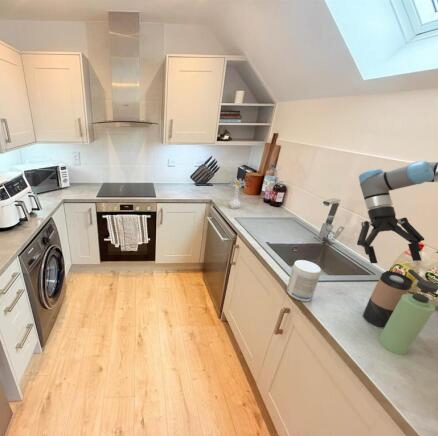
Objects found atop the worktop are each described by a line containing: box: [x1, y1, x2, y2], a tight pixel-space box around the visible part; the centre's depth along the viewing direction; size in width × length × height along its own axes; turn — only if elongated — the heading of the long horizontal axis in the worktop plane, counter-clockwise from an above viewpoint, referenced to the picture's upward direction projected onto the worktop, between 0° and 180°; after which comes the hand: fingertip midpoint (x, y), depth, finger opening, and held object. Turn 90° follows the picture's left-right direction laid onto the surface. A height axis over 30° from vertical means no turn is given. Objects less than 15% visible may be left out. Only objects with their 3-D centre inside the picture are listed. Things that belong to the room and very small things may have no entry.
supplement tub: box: [286, 259, 322, 302], centre depth 99 cm, size 10×10×15 cm
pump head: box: [407, 268, 438, 295], centre depth 72 cm, size 10×4×3 cm, turn 161°
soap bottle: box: [377, 292, 436, 356], centre depth 75 cm, size 7×7×21 cm
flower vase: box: [228, 177, 247, 210], centre depth 194 cm, size 13×18×25 cm
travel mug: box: [362, 270, 414, 329], centre depth 85 cm, size 8×8×20 cm
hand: (395, 262), depth 89 cm, fingers open, 13 cm apart
